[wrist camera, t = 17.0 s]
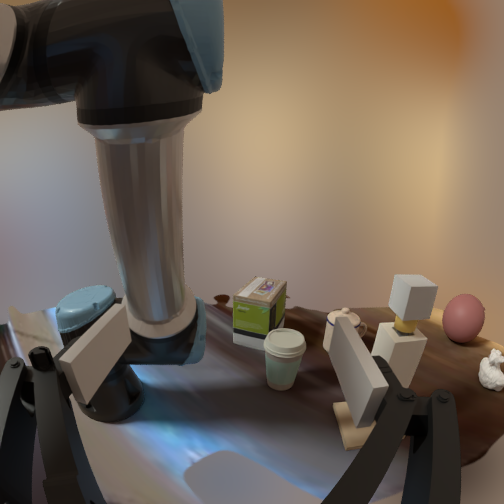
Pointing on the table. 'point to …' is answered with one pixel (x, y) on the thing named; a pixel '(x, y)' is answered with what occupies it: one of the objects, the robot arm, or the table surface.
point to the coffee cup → (283, 357)
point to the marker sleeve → (399, 351)
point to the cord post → (411, 301)
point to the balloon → (463, 318)
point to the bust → (492, 371)
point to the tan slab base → (351, 427)
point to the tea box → (258, 311)
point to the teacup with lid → (331, 321)
